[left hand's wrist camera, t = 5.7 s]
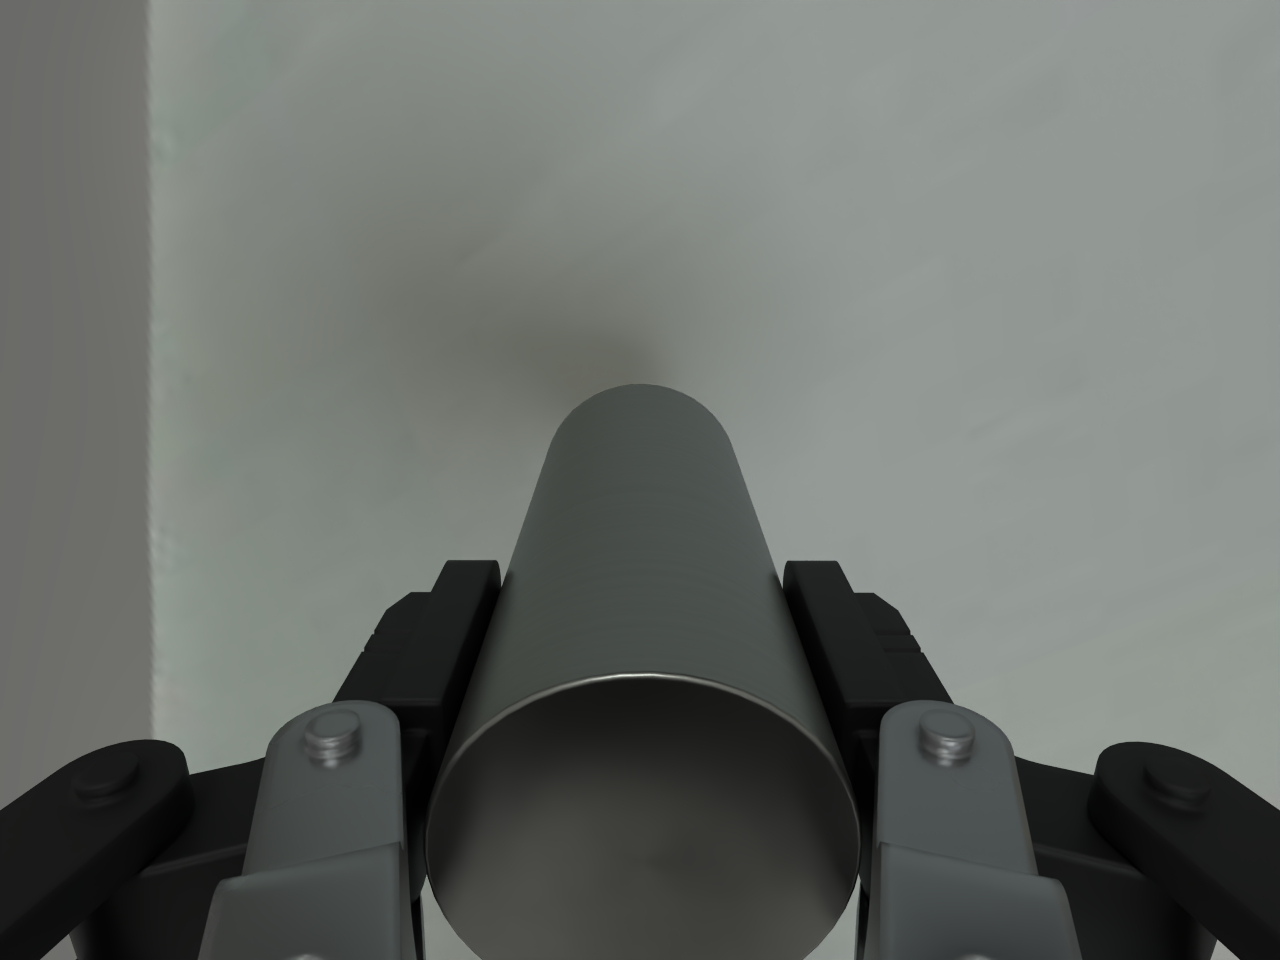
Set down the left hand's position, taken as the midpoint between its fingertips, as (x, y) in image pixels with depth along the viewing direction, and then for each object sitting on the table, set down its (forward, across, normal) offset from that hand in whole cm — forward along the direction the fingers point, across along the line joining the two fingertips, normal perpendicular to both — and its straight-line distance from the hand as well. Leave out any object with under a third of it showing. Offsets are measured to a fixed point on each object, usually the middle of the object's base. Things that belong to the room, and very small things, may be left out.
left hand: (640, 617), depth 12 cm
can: (+6, 0, 0) cm, 6 cm away
